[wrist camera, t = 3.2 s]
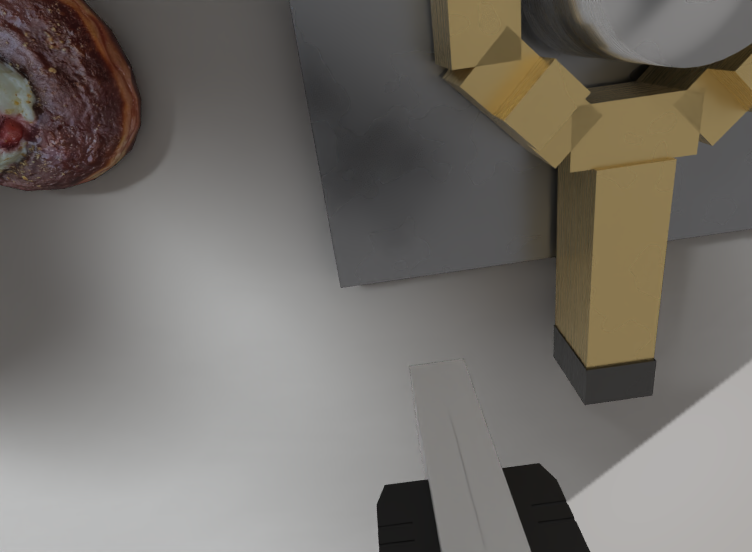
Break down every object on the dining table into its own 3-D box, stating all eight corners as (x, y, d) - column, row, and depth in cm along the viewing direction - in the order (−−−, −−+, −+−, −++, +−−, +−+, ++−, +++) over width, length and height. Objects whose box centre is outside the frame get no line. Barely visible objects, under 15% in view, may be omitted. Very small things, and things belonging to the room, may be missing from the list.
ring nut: (412, -226, 15) (437, -317, 11) (808, -285, 14) (975, -397, 11) (458, 370, 23) (481, 437, 19) (707, 334, 23) (779, 394, 19)
